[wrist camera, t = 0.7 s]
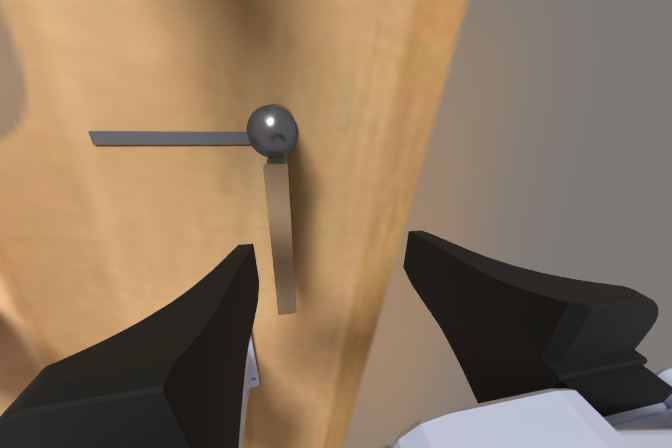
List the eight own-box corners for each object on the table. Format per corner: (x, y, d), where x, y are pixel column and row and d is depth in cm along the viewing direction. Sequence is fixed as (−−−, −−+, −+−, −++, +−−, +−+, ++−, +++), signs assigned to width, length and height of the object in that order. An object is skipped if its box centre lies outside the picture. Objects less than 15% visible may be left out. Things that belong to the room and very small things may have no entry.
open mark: (256, 144, 18) (256, 144, 18) (94, 144, 16) (93, 144, 16) (255, 132, 17) (255, 132, 17) (89, 131, 16) (88, 131, 16)
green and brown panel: (269, 148, 18) (263, 166, 13) (287, 148, 18) (287, 166, 13) (280, 266, 22) (278, 314, 17) (294, 265, 22) (296, 312, 17)
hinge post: (295, 141, 18) (299, 158, 13) (260, 141, 18) (250, 158, 12) (293, 104, 17) (297, 105, 12) (257, 103, 17) (243, 104, 11)
